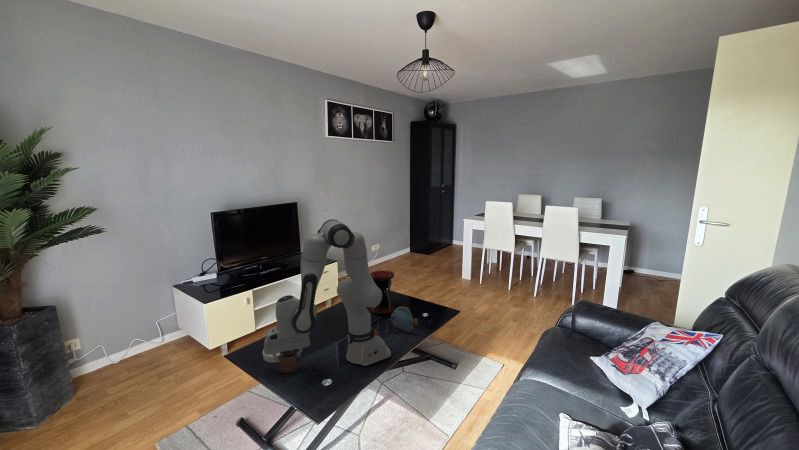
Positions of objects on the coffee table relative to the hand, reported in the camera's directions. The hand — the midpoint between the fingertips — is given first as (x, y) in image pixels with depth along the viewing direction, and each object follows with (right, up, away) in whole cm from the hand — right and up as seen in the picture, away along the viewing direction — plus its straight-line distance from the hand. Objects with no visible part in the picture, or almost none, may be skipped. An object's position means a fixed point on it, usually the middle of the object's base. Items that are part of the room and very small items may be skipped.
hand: (288, 358), depth 157 cm
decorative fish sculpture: (+54, 0, +40) cm, 67 cm away
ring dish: (-10, -4, +14) cm, 17 cm away
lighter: (0, -6, +1) cm, 6 cm away
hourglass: (+41, +5, +70) cm, 81 cm away
